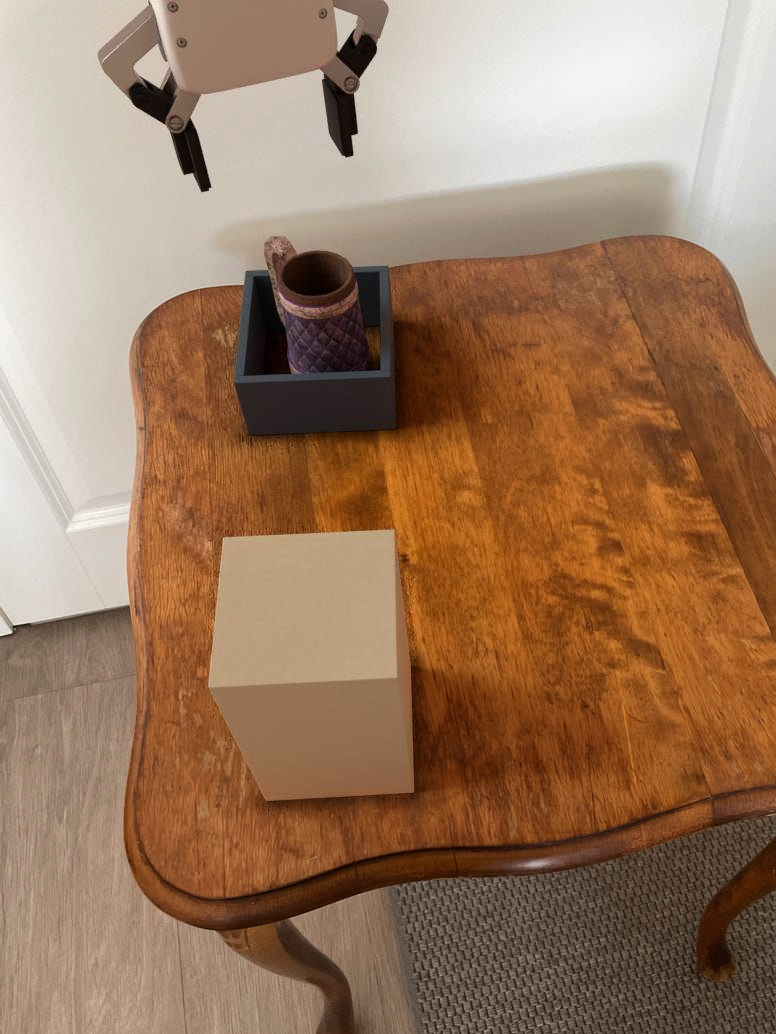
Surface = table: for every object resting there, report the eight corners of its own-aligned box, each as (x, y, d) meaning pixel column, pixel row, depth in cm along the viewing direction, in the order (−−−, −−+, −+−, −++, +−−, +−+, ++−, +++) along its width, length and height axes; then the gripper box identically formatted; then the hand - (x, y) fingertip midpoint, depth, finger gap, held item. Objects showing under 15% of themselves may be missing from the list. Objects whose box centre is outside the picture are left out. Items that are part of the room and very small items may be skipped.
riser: (265, 801, 63) (207, 687, 49) (273, 672, 68) (222, 536, 54) (414, 793, 63) (397, 677, 50) (410, 665, 68) (395, 528, 55)
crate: (248, 435, 80) (233, 382, 75) (258, 325, 87) (245, 270, 82) (395, 429, 81) (390, 376, 76) (393, 320, 88) (388, 265, 83)
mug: (389, 389, 83) (377, 274, 73) (323, 425, 81) (300, 311, 71) (325, 328, 87) (305, 210, 77) (260, 361, 85) (231, 244, 75)
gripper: (347, -212, 51) (375, 105, 66) (23, -162, 47) (129, 162, 62) (396, -160, 47) (415, 163, 62) (50, -102, 44) (156, 227, 58)
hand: (272, 162), depth 62 cm, fingers open, 9 cm apart
